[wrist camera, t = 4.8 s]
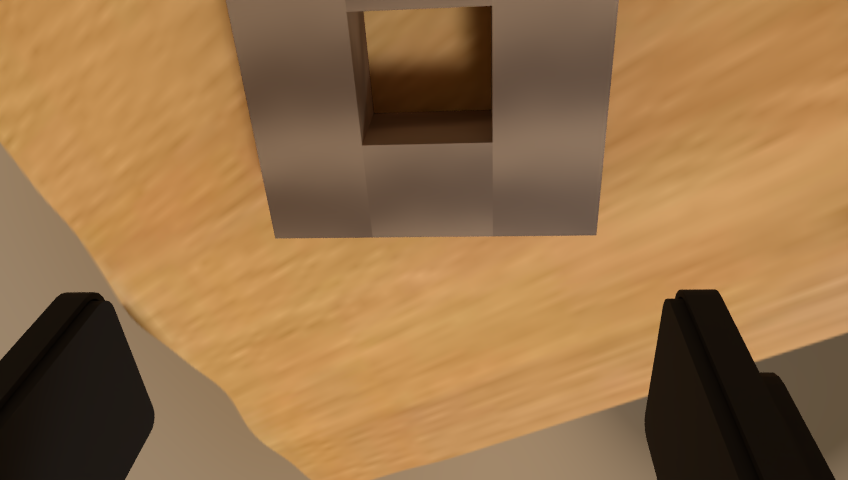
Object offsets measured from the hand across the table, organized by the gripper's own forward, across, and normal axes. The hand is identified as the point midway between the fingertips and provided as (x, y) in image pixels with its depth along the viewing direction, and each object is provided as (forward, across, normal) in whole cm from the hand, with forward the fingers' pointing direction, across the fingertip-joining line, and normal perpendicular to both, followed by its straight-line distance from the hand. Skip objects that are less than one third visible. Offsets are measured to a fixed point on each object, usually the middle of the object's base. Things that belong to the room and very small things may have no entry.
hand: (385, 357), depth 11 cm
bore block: (+23, +1, +2) cm, 23 cm away
